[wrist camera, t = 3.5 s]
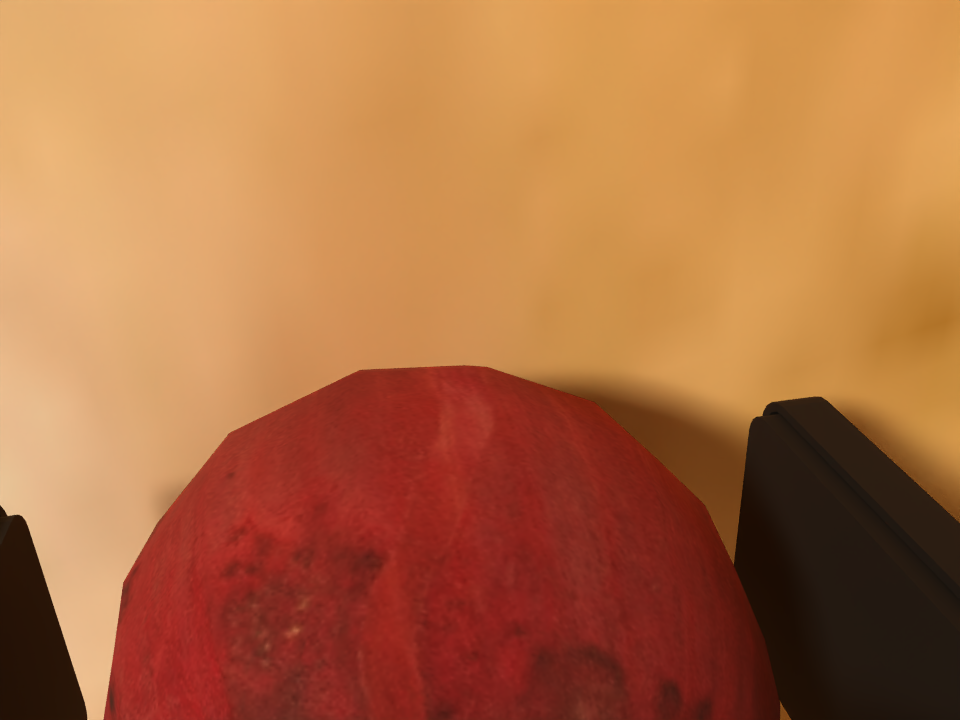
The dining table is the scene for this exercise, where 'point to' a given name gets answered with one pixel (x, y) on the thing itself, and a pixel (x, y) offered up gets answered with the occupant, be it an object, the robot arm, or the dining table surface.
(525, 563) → the onion
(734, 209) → the dining table surface
